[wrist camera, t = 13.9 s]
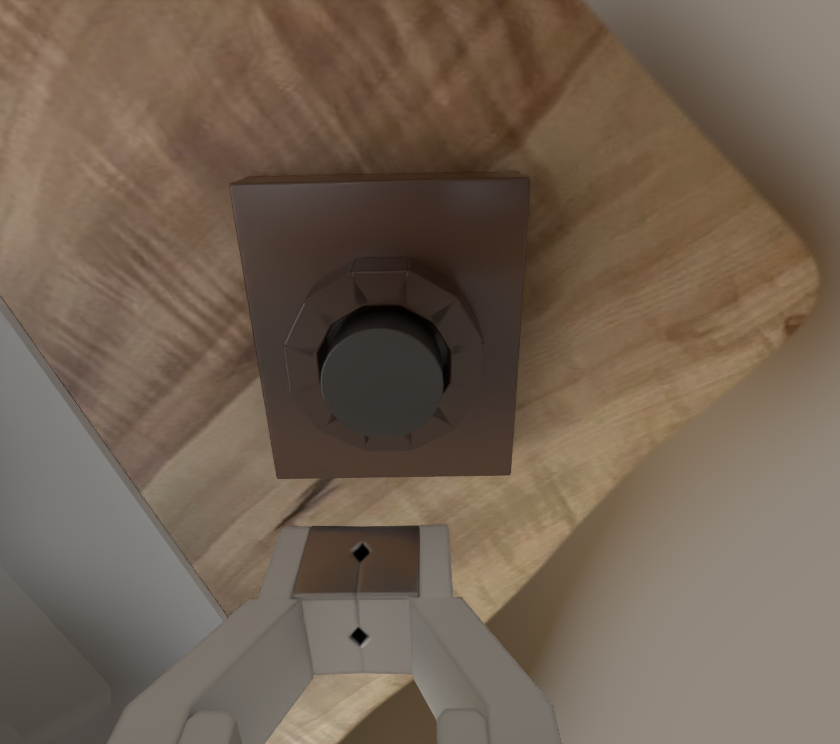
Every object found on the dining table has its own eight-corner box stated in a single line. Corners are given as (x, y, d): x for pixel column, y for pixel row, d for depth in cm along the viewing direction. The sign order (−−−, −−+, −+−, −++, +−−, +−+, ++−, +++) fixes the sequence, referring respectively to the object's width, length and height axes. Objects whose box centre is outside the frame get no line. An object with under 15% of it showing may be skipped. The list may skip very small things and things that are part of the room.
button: (323, 311, 18) (313, 329, 16) (441, 308, 18) (443, 327, 16) (333, 413, 20) (326, 439, 18) (441, 412, 20) (443, 437, 18)
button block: (247, 176, 20) (208, 189, 16) (519, 171, 20) (542, 183, 16) (287, 450, 25) (265, 507, 21) (503, 447, 25) (518, 503, 21)
